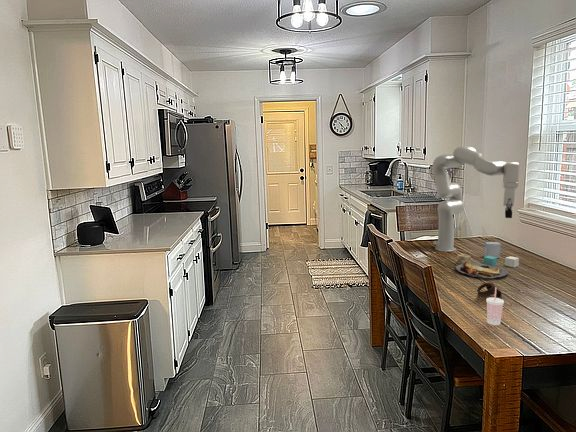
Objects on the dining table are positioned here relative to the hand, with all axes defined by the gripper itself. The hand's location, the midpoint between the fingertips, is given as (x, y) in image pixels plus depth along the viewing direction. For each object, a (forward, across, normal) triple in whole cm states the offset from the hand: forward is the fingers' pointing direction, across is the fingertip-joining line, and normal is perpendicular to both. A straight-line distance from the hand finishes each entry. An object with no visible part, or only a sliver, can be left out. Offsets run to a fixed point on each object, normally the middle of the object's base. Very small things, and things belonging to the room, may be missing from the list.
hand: (508, 216), depth 238 cm
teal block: (+27, +5, -8) cm, 29 cm away
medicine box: (+27, -13, -7) cm, 31 cm away
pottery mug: (+27, +61, -6) cm, 67 cm away
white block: (+27, +2, +3) cm, 27 cm away
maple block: (+27, +6, -21) cm, 35 cm away
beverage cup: (+27, +88, -5) cm, 93 cm away
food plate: (+28, +22, -12) cm, 37 cm away
